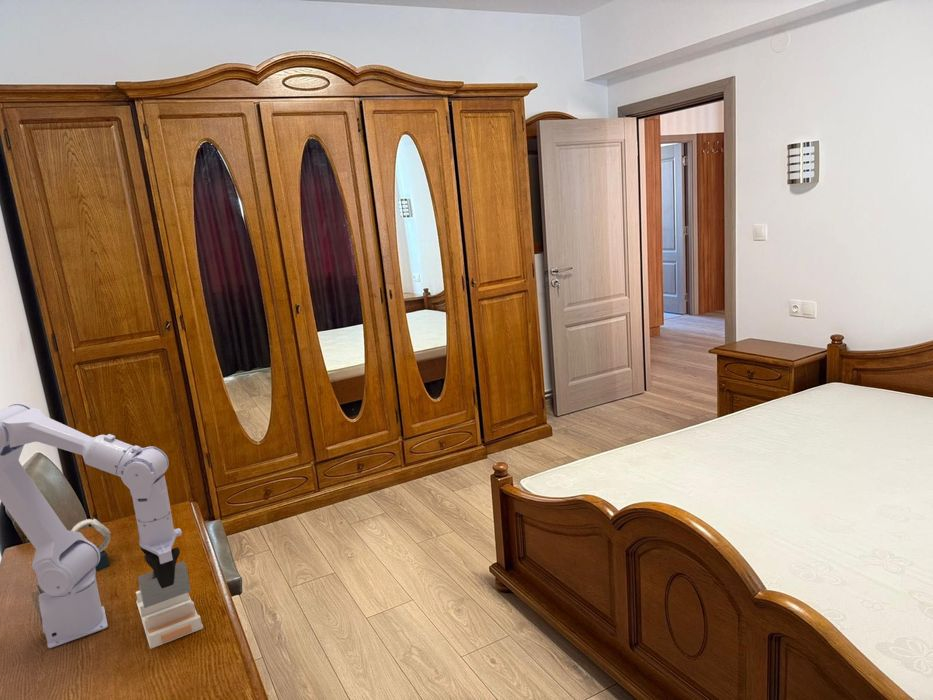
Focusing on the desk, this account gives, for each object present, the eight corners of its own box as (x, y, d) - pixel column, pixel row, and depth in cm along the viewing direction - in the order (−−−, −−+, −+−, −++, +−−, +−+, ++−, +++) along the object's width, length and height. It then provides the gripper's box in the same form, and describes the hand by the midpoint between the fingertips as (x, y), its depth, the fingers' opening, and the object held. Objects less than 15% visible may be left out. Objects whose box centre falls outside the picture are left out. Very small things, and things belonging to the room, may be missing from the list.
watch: (119, 562, 140) (110, 517, 137) (79, 578, 134) (69, 532, 132) (111, 554, 144) (102, 510, 141) (71, 569, 138) (62, 524, 136)
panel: (144, 608, 113) (140, 583, 112) (141, 600, 115) (137, 576, 114) (190, 591, 117) (186, 567, 116) (187, 584, 119) (183, 561, 118)
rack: (150, 650, 110) (148, 638, 109) (136, 602, 124) (134, 592, 123) (203, 629, 114) (201, 617, 114) (184, 586, 129) (182, 575, 128)
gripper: (185, 521, 109) (197, 590, 112) (169, 495, 121) (180, 558, 124) (141, 535, 105) (154, 606, 108) (129, 506, 117) (141, 571, 120)
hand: (165, 581), depth 116 cm, fingers closed on panel, 3 cm apart
